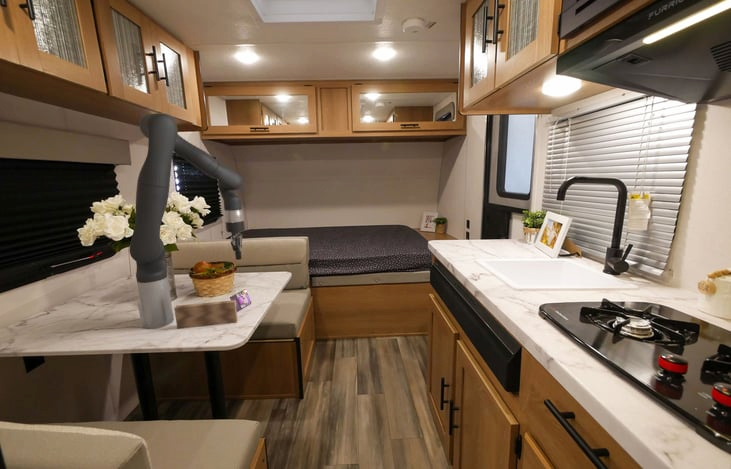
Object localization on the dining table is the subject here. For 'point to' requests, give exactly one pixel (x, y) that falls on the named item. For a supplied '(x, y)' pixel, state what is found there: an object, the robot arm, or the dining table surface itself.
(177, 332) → the dining table surface
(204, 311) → the walnut board
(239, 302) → the purple crystal
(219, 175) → the robot arm
